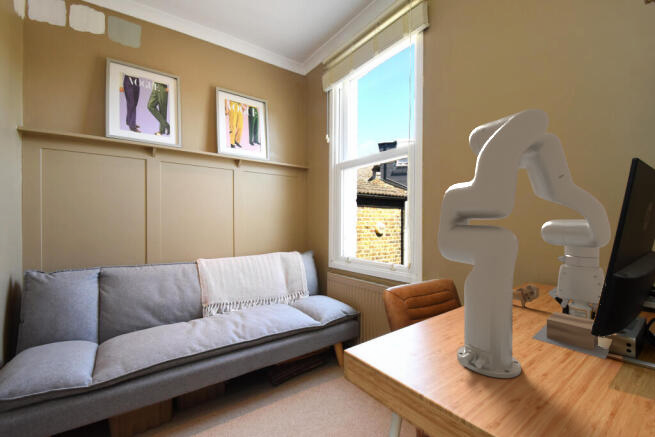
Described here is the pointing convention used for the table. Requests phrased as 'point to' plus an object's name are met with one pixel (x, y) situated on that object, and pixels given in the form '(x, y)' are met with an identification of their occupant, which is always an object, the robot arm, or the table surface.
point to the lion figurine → (526, 294)
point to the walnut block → (571, 330)
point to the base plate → (595, 352)
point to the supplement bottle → (580, 309)
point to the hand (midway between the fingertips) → (580, 322)
